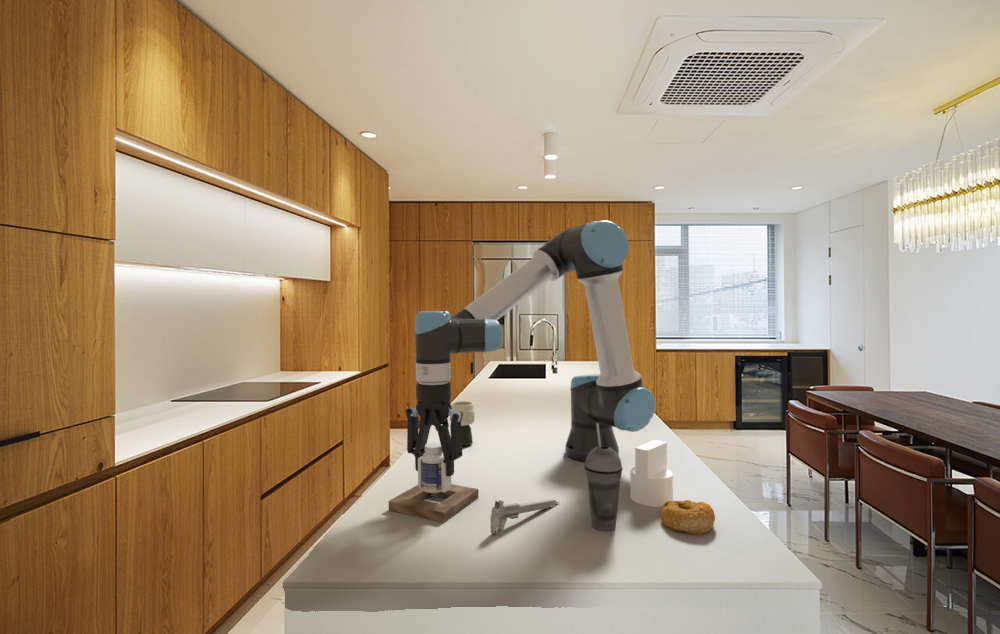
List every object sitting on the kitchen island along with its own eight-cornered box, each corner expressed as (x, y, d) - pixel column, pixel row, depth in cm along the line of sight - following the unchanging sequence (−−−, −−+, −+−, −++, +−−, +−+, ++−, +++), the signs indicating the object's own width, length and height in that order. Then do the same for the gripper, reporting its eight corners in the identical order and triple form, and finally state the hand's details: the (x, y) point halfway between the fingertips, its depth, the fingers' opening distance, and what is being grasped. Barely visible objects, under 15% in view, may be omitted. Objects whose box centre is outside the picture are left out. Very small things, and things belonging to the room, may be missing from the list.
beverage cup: (615, 538, 92) (615, 430, 92) (578, 528, 96) (578, 425, 95) (627, 523, 98) (627, 422, 98) (592, 515, 102) (592, 418, 102)
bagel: (703, 513, 103) (703, 490, 103) (723, 538, 92) (723, 513, 92) (654, 512, 104) (654, 489, 103) (668, 537, 93) (668, 512, 92)
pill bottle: (442, 494, 105) (442, 449, 105) (418, 493, 106) (418, 447, 106) (450, 485, 111) (449, 442, 110) (427, 484, 112) (426, 441, 111)
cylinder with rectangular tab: (643, 488, 117) (643, 437, 117) (680, 498, 110) (680, 444, 110) (622, 498, 111) (622, 445, 110) (660, 510, 104) (660, 453, 104)
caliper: (494, 537, 93) (494, 504, 93) (490, 535, 94) (490, 502, 94) (559, 504, 108) (559, 476, 108) (555, 503, 109) (555, 474, 109)
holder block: (478, 497, 112) (478, 489, 112) (444, 522, 99) (444, 512, 99) (426, 488, 118) (426, 479, 118) (388, 510, 105) (388, 500, 105)
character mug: (482, 446, 153) (482, 403, 152) (465, 450, 148) (464, 407, 147) (460, 439, 161) (459, 399, 160) (442, 443, 156) (442, 402, 155)
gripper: (388, 381, 109) (390, 487, 109) (460, 387, 100) (462, 501, 101) (409, 377, 115) (410, 476, 116) (478, 382, 107) (480, 488, 108)
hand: (434, 487), depth 109 cm, fingers closed on pill bottle, 5 cm apart
